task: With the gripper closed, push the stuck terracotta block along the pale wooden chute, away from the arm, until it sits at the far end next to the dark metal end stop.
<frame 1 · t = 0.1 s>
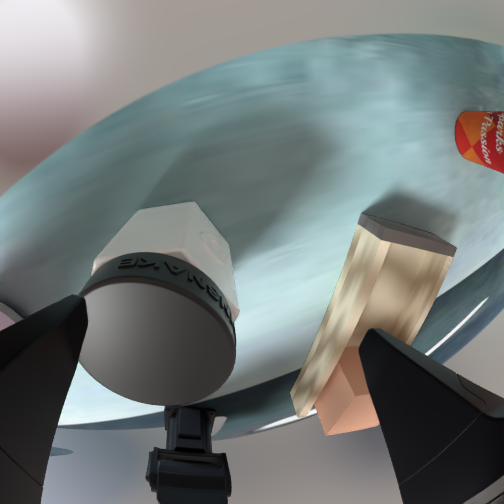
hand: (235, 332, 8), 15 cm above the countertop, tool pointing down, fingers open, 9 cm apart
paper cup: (467, 136, 21), on the countertop
blender: (25, 340, 24), on the countertop
jar: (174, 250, 22), on the countertop
chute: (359, 326, 28), on the countertop
block: (355, 389, 26), point 5 cm above the countertop, slide at 0.0 cm
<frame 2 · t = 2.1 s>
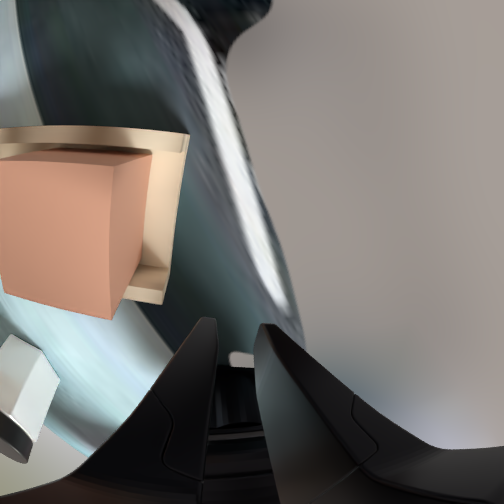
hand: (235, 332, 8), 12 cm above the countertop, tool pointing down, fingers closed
jar: (30, 362, 22), on the countertop
chute: (42, 192, 16), on the countertop
block: (74, 217, 13), point 5 cm above the countertop, slide at 0.0 cm
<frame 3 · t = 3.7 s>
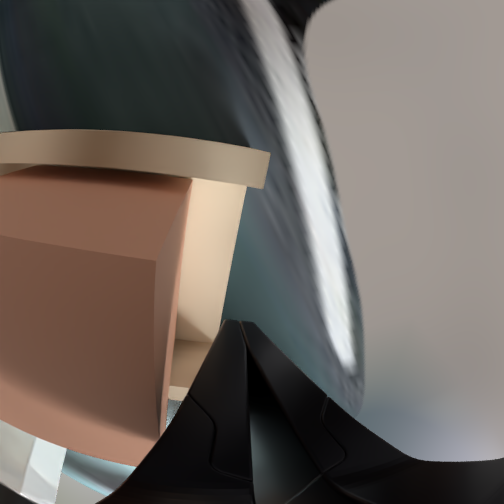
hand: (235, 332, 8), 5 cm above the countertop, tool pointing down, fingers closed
jar: (32, 416, 16), on the countertop
chute: (20, 230, 10), on the countertop
block: (66, 298, 7), point 5 cm above the countertop, slide at 0.0 cm, touching gripper
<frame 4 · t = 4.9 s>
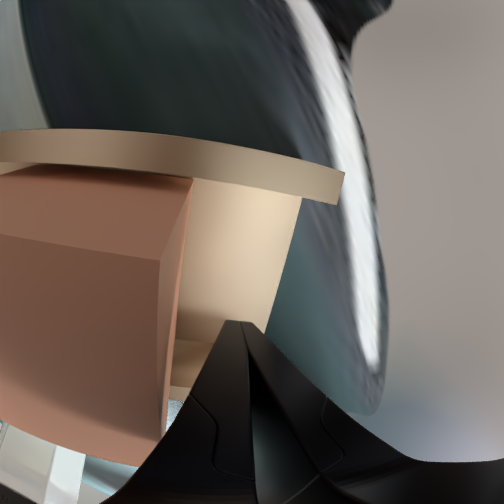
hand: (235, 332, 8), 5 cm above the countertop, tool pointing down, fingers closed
jar: (48, 423, 17), on the countertop
chute: (51, 234, 11), on the countertop
block: (67, 298, 7), point 5 cm above the countertop, slide at 2.2 cm, touching gripper
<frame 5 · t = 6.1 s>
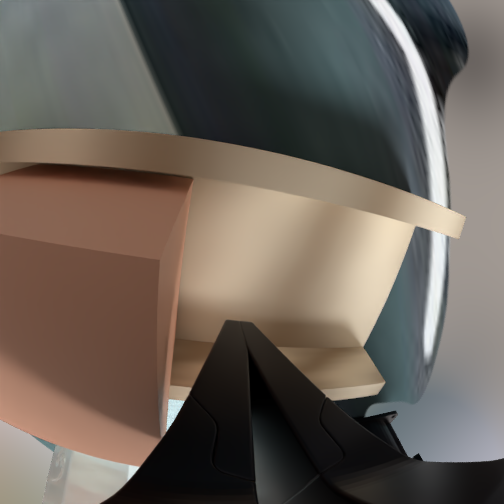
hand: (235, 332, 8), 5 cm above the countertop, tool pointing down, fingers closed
jar: (105, 440, 18), on the countertop
chute: (172, 252, 12), on the countertop
block: (67, 297, 7), point 5 cm above the countertop, slide at 8.5 cm, touching gripper
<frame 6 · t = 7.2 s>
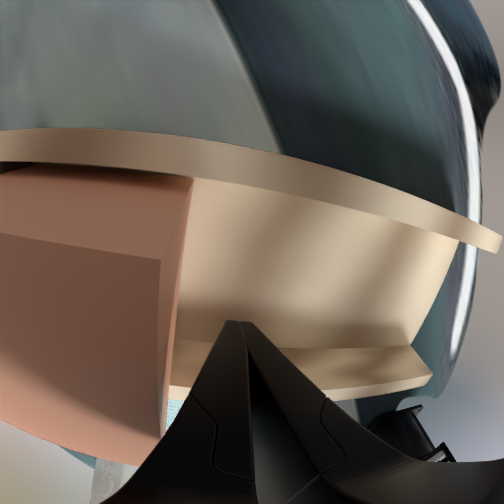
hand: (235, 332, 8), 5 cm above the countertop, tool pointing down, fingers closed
jar: (148, 449, 19), on the countertop
chute: (265, 265, 13), on the countertop
block: (67, 297, 7), point 5 cm above the countertop, slide at 12.7 cm, touching gripper
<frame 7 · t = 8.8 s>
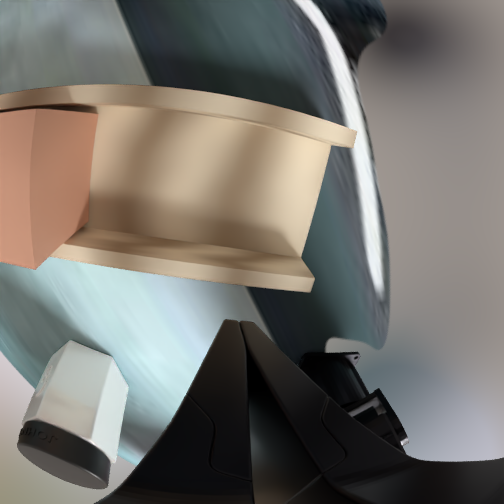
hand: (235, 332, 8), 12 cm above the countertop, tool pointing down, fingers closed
jar: (89, 370, 23), on the countertop
chute: (149, 171, 16), on the countertop
block: (19, 175, 11), point 5 cm above the countertop, slide at 12.8 cm
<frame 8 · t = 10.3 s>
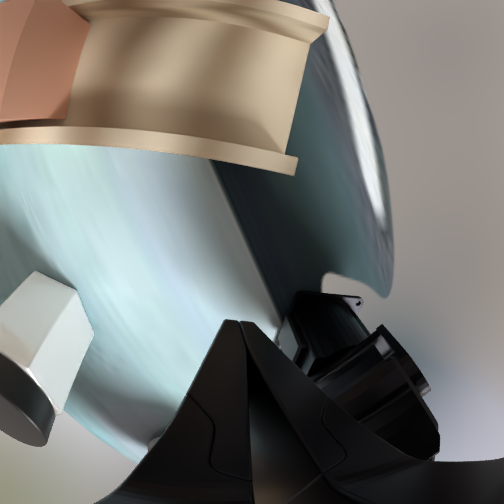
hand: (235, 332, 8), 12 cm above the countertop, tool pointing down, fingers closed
jar: (54, 312, 20), on the countertop
chute: (130, 71, 14), on the countertop
block: (10, 67, 8), point 5 cm above the countertop, slide at 12.8 cm
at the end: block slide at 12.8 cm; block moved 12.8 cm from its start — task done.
